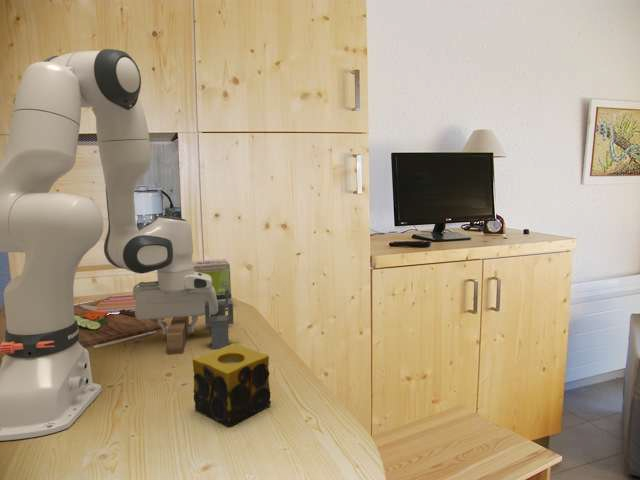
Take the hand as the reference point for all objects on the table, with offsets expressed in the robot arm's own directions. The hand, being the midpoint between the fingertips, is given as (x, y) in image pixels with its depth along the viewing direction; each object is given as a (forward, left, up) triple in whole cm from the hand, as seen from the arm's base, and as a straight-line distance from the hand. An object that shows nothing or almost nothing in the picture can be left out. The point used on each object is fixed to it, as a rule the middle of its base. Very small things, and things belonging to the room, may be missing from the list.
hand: (178, 333), depth 124 cm
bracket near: (-7, -10, -2) cm, 12 cm away
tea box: (+28, -7, -2) cm, 29 cm away
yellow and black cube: (-40, -11, -2) cm, 42 cm away
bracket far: (+7, -10, -2) cm, 12 cm away
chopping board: (+22, +24, -2) cm, 33 cm away
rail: (0, 0, -2) cm, 2 cm away
